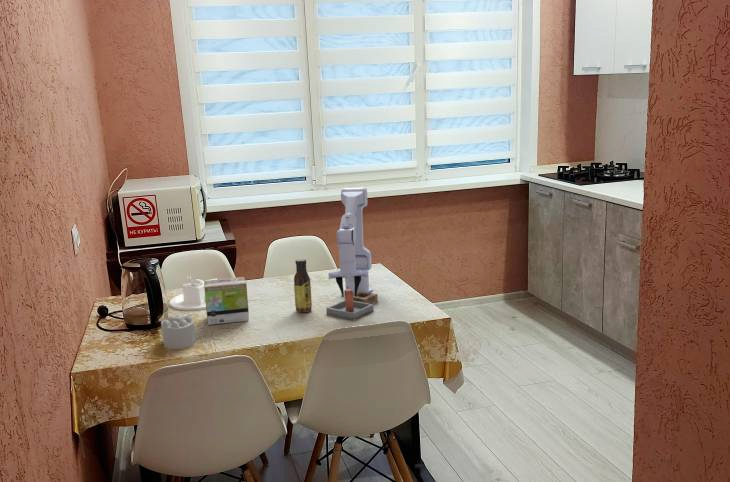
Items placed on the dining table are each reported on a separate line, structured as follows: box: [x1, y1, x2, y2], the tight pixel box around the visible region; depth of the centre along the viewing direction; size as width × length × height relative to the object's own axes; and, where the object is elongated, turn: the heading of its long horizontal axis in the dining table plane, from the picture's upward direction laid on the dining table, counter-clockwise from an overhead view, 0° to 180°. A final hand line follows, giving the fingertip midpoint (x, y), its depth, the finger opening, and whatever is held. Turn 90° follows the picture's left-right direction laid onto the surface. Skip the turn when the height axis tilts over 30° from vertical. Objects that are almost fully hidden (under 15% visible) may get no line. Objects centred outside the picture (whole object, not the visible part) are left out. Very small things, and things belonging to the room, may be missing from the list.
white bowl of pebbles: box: [160, 314, 197, 350], centre depth 221 cm, size 10×13×9 cm
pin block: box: [353, 291, 379, 305], centre depth 255 cm, size 8×8×3 cm
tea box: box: [203, 276, 250, 326], centre depth 242 cm, size 15×10×15 cm
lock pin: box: [343, 289, 354, 312], centre depth 243 cm, size 3×3×8 cm
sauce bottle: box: [293, 258, 313, 313], centre depth 247 cm, size 7×6×20 cm
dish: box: [169, 274, 218, 312], centre depth 267 cm, size 25×25×11 cm
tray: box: [325, 299, 375, 321], centre depth 244 cm, size 13×12×2 cm
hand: (349, 296), depth 243 cm, fingers open, 4 cm apart
